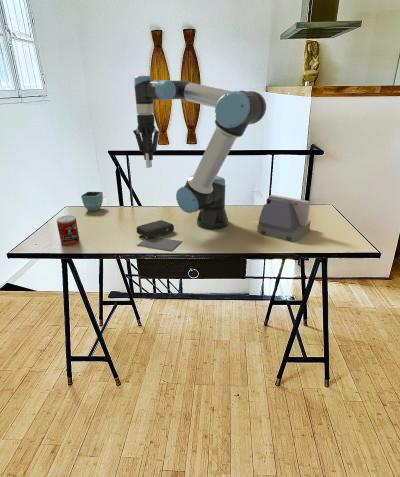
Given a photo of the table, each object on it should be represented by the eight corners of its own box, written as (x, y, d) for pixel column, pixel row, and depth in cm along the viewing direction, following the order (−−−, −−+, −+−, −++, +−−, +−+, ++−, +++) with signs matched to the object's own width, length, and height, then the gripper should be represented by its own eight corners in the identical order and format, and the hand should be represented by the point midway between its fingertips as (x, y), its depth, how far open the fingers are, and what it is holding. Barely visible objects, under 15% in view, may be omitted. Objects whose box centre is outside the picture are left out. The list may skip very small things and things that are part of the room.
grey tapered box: (315, 231, 158) (319, 199, 152) (290, 244, 144) (294, 210, 138) (276, 220, 172) (279, 190, 166) (250, 231, 158) (252, 199, 152)
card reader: (148, 240, 148) (174, 232, 159) (148, 231, 147) (174, 223, 157) (135, 234, 154) (161, 227, 164) (135, 225, 153) (161, 219, 163)
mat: (181, 241, 148) (181, 241, 148) (171, 251, 139) (171, 250, 139) (149, 236, 153) (148, 235, 153) (137, 245, 145) (137, 244, 145)
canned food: (62, 247, 144) (57, 223, 139) (59, 240, 150) (55, 217, 146) (81, 243, 147) (77, 219, 143) (77, 237, 154) (74, 214, 149)
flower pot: (89, 206, 193) (87, 191, 190) (104, 207, 192) (102, 191, 189) (82, 211, 185) (80, 195, 182) (98, 212, 184) (96, 196, 181)
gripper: (162, 113, 154) (165, 166, 164) (137, 113, 159) (141, 164, 168) (154, 114, 148) (157, 169, 157) (128, 114, 152) (133, 167, 162)
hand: (149, 167), depth 163 cm, fingers closed
